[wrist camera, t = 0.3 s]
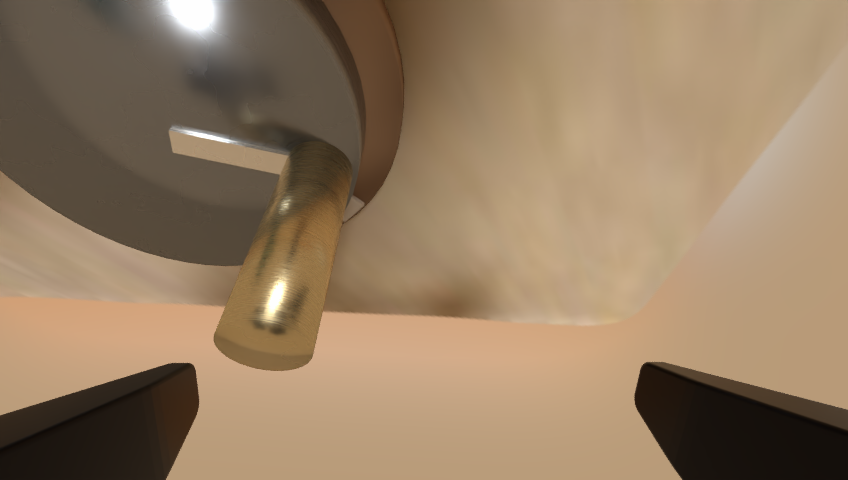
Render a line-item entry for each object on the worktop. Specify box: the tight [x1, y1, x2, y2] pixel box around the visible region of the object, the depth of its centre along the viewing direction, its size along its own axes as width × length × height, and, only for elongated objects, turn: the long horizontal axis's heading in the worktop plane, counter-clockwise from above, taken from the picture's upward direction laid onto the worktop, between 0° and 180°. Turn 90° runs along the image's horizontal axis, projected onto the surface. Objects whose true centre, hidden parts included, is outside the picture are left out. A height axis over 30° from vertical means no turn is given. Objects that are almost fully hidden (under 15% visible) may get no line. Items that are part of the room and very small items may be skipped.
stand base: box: [322, 0, 404, 224], centre depth 19 cm, size 18×18×2 cm
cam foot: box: [0, 0, 366, 371], centre depth 14 cm, size 15×15×10 cm
